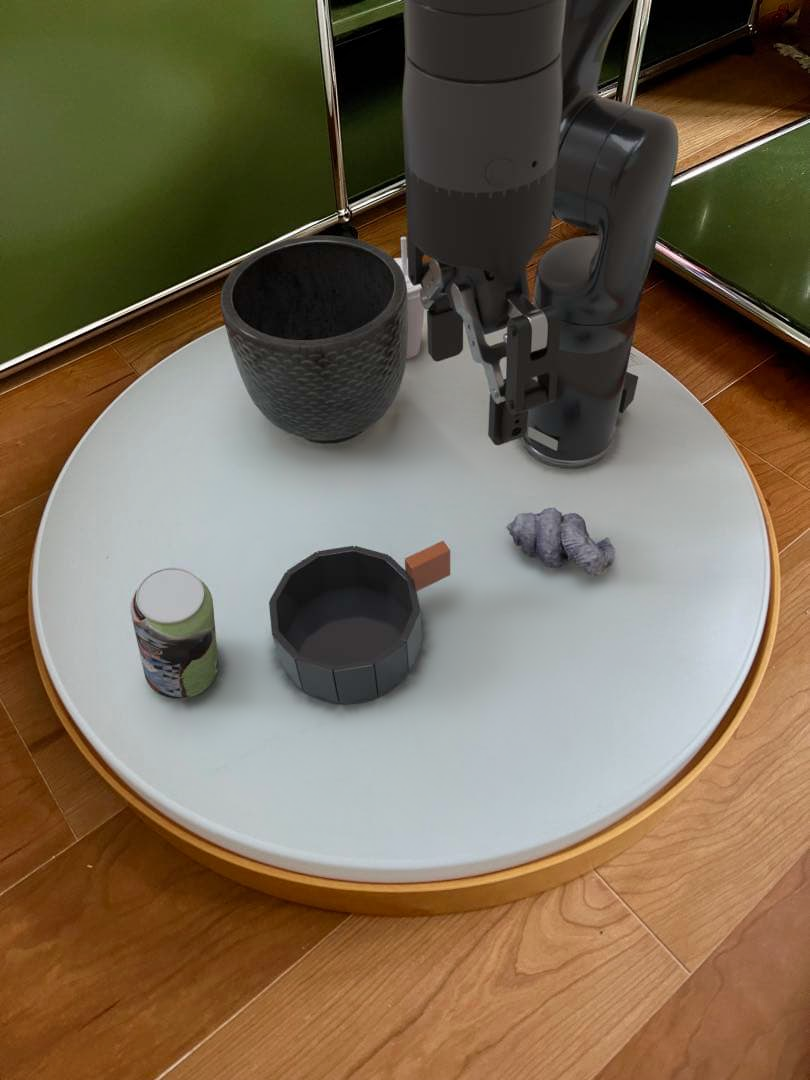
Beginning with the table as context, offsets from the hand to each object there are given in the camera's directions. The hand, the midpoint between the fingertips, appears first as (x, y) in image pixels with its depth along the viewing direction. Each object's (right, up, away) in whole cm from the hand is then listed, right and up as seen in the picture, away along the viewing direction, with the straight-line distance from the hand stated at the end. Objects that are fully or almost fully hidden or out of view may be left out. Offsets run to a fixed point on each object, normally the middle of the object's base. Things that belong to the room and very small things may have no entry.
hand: (474, 394), depth 56 cm
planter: (-12, +4, +38) cm, 40 cm away
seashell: (+10, -11, +26) cm, 29 cm away
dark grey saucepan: (-8, -17, +21) cm, 28 cm away
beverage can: (-22, -21, +19) cm, 36 cm away
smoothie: (-5, +12, +45) cm, 47 cm away
